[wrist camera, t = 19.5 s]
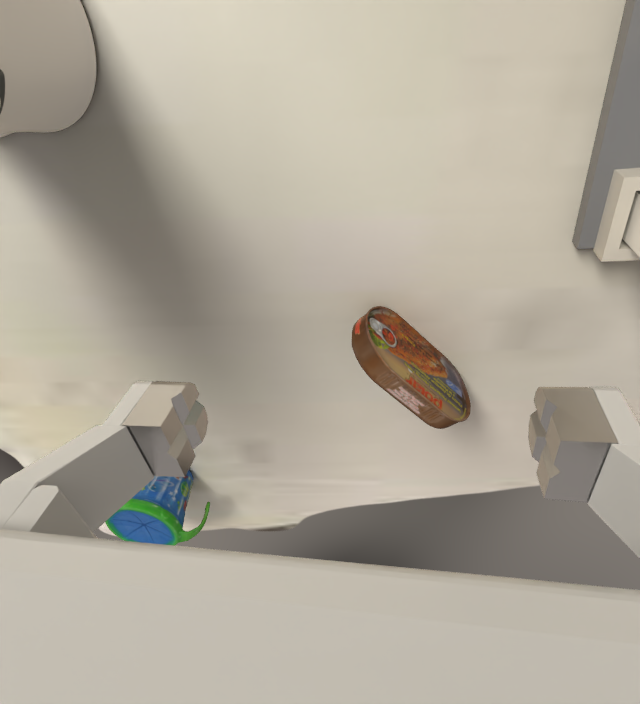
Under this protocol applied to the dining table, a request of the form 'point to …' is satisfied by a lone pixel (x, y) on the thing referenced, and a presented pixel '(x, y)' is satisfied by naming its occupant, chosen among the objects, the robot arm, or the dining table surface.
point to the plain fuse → (633, 225)
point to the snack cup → (156, 513)
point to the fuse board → (615, 152)
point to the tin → (410, 368)
